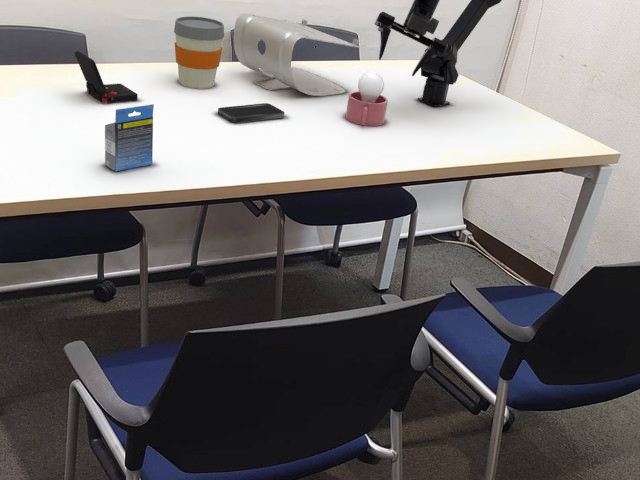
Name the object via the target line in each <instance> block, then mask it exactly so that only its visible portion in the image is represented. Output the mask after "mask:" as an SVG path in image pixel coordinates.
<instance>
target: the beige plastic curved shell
mask: <svg viewBox="0 0 640 480" xmlns="http://www.w3.org/2000/svg"><path fill="white" fill-rule="evenodd" d="M301 39H305V40H306V39H307V40H312V41H318V42H323V43H329V44H335V45H341V46H346V47H351V48H358V49H360V46H359V43H360V40H359V39H357V38H353V39H352V43H351V42H349V41H346V40H343V39H341V38H338V37H335V36H334V35H331V34H328V33H326V32H323V31H320V30H318V29H315V28H312V27H311V26H308V20H307V19H302V20H301V23H300V22H297V21H296V22H295V21H291V20H284V19H280V18H279V19H278V18H272V17H269V16H267V17H266V16H262V15H256V14H251V13H242V14H240V15H239V16H238V17H237V18H236V20H235V24H234V28H233V49H234V53H235V57H236V58H237V60H238V62H240V64H241V65H242V66H244V67H246V68H248V69H249V70H252V71H254V72H256V73H258V74H260V75H263V76H265V77H269V78H271V79H263V80H262V79H261V80H256V81H255V84H256V85H257V86H259V87H261V88H263V89H266V90H269V91H277V90H286V89H294V90H296V91H297V92H301V93H303V94H304V95H307V96H313V97H327V96H333V95H340V94H344V93H346V89H345V88H344V87H342V86H340V85H338V84H336V83H335V82H332V81H330V80H328V79H325V78H323V77H321V76H319V75H317V74H313V73H311V72H308V71H305V70H302V69H299V68H296V67H292V59H293V51H294V47H295V45H296V43H297V42H298V41H299V40H301ZM260 41H263V43H264V45H265V51H264V53H261V52H260V50H259V47H258V46H259V42H260Z"/></svg>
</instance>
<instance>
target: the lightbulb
mask: <svg viewBox="0 0 640 480" xmlns="http://www.w3.org/2000/svg"><path fill="white" fill-rule="evenodd" d="M357 88H358V91H359V92H360V94H361V97H362V101H363V102H368V103H375V102H376V99H377V98H378V97H379V96H380V95H382V93H383V92H384V89H385V80H384V78H383V76H382V75H381V74H380V73H378V72H376V71H373V70H371V71H367V72H364V73H363V74H362V75H361V76H360V77H359V80H358V82H357Z"/></svg>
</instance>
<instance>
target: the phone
mask: <svg viewBox="0 0 640 480" xmlns="http://www.w3.org/2000/svg"><path fill="white" fill-rule="evenodd" d="M217 115H218V116H221V117H223V118H224V119H225V120H227V121H229V122H231V123H233V124H238V123H239V124H240V123H249V122H257V121H258V122H259V121H266V120H276V119H283V118H285V111H284V110H282V109H280V108H278V107H277V106H275V105H273V104H272V103H271V104H270V103H268V102H267V103H265V102H264V103H262V102H261V103H255V104H254V103H253V104H245V105H244V104H243V105H233V106H223V107H218V108H217Z"/></svg>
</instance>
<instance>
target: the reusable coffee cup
mask: <svg viewBox="0 0 640 480" xmlns="http://www.w3.org/2000/svg"><path fill="white" fill-rule="evenodd" d="M173 28H174V29H173V30H174V31H173V32H174V34H175V42H174V53H175V54H174V56H175V63H176V64H177V69H178V71H177V73H178V83H179V84H180V85H181V86H184V87H188V88H191V89H200V90H201V89H202V90H203V89H210V88H213V87H214V86H215V81H216V76H217V71H218V68H219V67H220V64H221V58H222V53H223V47H222V44H223V40H224V38H225V24H224V23H223V22H222V21H219V20H217V19H214V18H209V17H203V16H180V17H177V18H176V19H175V22H174V27H173Z"/></svg>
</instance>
